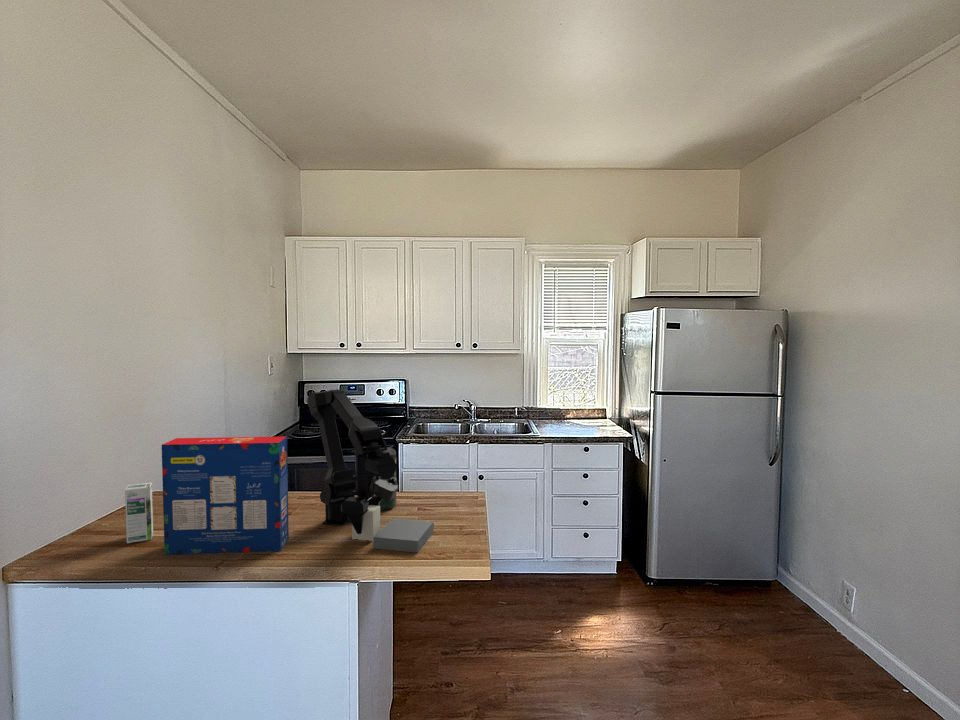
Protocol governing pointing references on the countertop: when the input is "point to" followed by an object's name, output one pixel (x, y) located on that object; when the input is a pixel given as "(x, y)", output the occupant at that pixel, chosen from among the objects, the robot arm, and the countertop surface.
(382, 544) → the podium
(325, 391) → the robot arm
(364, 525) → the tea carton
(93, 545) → the countertop surface
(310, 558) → the countertop surface
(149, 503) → the syrup box
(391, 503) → the coffee jar
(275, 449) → the blue cardboard box
